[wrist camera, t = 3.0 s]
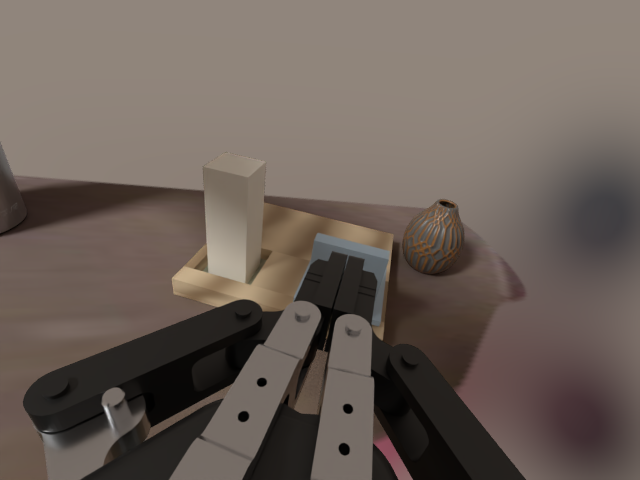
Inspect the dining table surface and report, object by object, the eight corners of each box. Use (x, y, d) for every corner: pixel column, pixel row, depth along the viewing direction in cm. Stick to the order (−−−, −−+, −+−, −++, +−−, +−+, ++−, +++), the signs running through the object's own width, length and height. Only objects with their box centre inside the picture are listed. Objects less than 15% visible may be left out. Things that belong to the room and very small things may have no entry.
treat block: (208, 276, 34) (202, 166, 28) (226, 255, 37) (225, 152, 31) (245, 287, 34) (248, 177, 27) (260, 264, 37) (266, 161, 30)
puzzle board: (173, 294, 32) (171, 278, 31) (249, 211, 47) (250, 198, 46) (377, 353, 30) (382, 339, 29) (389, 246, 45) (393, 234, 44)
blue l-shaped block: (292, 302, 30) (301, 237, 26) (314, 254, 37) (324, 196, 33) (379, 326, 30) (401, 263, 26) (385, 272, 36) (404, 215, 32)
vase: (386, 251, 44) (405, 191, 39) (427, 245, 46) (450, 188, 42) (417, 286, 39) (444, 222, 34) (462, 277, 41) (492, 217, 37)
